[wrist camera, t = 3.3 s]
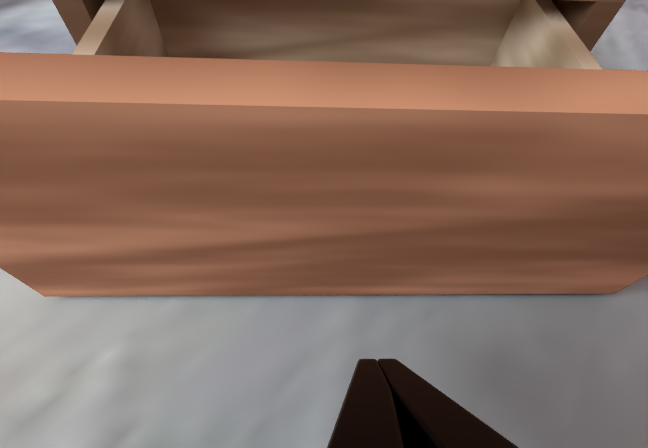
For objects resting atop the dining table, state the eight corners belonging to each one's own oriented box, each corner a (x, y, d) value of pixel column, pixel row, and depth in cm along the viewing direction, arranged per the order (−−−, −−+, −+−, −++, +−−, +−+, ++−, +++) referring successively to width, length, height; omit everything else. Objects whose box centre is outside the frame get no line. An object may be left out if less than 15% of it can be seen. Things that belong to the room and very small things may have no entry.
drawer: (613, 293, 17) (930, 120, 8) (44, 296, 15) (-271, 94, 7) (515, 94, 24) (626, -98, 16) (133, 85, 23) (37, -129, 15)
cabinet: (526, 143, 22) (638, -18, 15) (126, 136, 21) (28, -44, 14) (470, 23, 30) (525, -124, 23) (174, 13, 29) (129, -146, 21)
